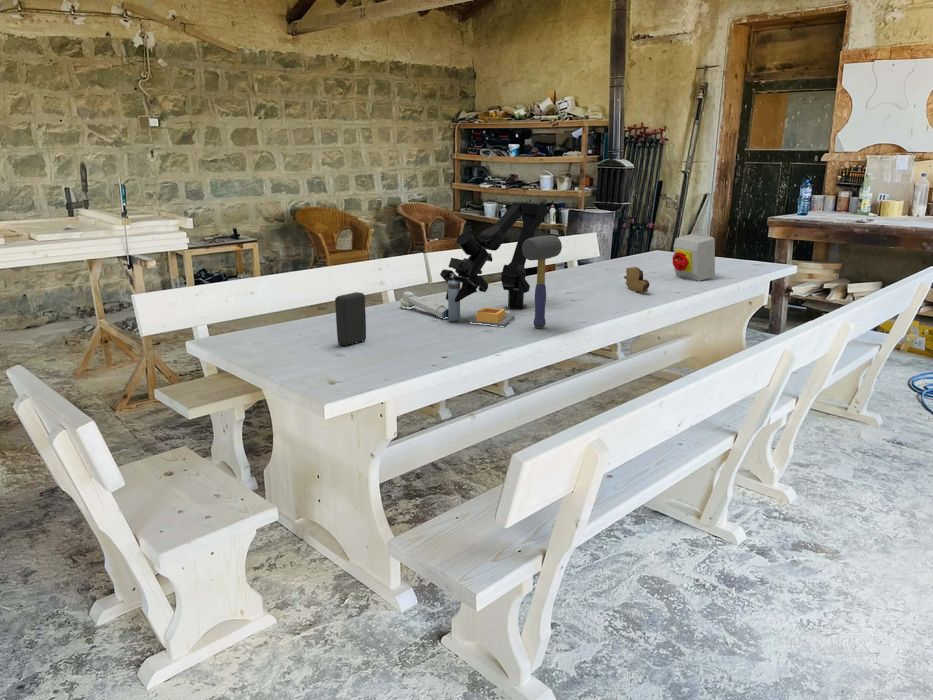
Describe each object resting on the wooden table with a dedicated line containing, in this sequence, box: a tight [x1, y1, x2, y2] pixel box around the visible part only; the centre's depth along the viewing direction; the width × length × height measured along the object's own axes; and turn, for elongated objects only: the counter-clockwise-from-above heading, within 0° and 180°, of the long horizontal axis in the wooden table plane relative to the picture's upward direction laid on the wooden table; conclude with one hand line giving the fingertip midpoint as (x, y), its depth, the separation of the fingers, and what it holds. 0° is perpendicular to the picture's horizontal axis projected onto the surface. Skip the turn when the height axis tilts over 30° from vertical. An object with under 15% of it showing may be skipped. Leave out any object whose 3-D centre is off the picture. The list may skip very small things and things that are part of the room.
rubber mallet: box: [522, 234, 563, 329], centre depth 223 cm, size 12×8×30 cm, turn 133°
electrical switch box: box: [671, 232, 716, 282], centre depth 306 cm, size 15×15×20 cm
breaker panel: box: [469, 307, 516, 327], centre depth 234 cm, size 12×12×4 cm
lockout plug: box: [447, 280, 461, 321], centre depth 233 cm, size 4×4×13 cm
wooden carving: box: [623, 266, 651, 294], centre depth 281 cm, size 16×5×10 cm, turn 22°
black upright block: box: [334, 291, 367, 346], centre depth 208 cm, size 9×4×15 cm, turn 141°
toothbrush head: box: [399, 291, 448, 318], centre depth 246 cm, size 5×7×25 cm
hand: (451, 300), depth 232 cm, fingers closed on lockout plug, 4 cm apart
